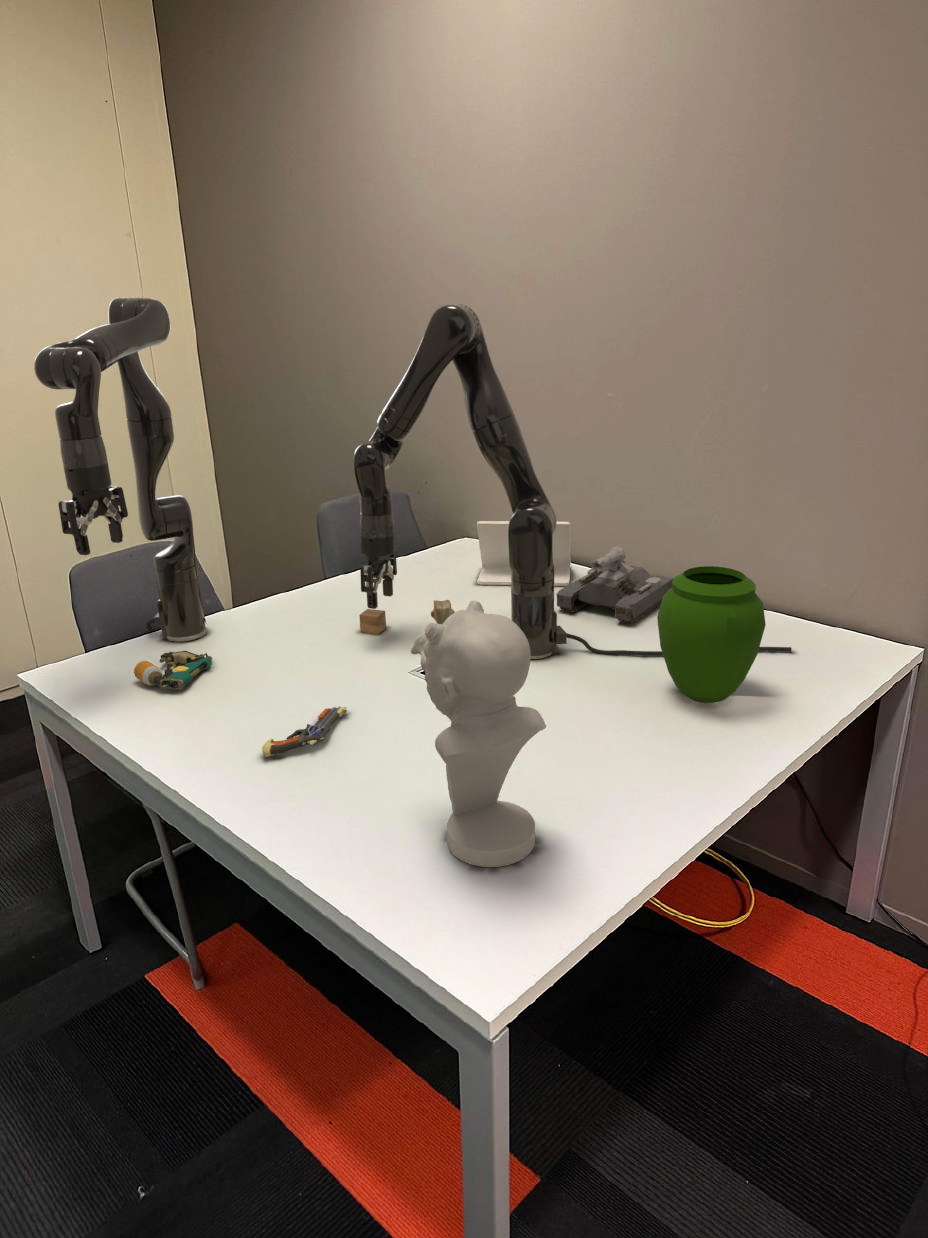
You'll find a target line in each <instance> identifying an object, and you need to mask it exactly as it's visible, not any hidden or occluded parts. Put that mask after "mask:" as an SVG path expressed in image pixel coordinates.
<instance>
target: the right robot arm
mask: <svg viewBox="0 0 928 1238" xmlns="http://www.w3.org/2000/svg"><path fill="white" fill-rule="evenodd" d="M451 362H452V363H453V365H454V367H455V370H456V372H457V374H458V377H459V379H460V383H461V386H462V392H463V397H464V405H465V412H466V416H467V420H468V423H469V427H470V430H471V431H472V434H473V436H474V439H475V442H476V444H477V447H478V448H479V451H480V453H481V455H482V456H483V458H484V459H485V461H486V463H487V464H488V465H489V467H490V468H491V470H492V471H493V472H494V474H495V475H496V477H497V478H498V479H499V481H500V483H501V484H502V486H503V488H504V491H505V493H506V496H507V499H508V503H509V506H510V507H511V512H512V515H511V517H510V518H509V520H508V521H509V527H508V548H509V565H510V569H511V585H510V588H511V589H510V597H511V599H510V603H511V604H510V606H511V607H510V609H511V610H510V615H511V617H510V619H511V620H512V621H513V622H514V623H515V624H516V625H517V626H518V627H519V628H520V629H521V630H522V632H523V633H524V634H525V636H526V638H527V640H528V643H529V646H530V652H531V653H530V655H531V656H530V660H540V659H545V658H548V657H550V656H552V655H557V654H558V653H557V650H558V649H557V648H558V647H557V645H566V644H568V643H567V642H568V641H567V640H568V639H571V640H574V641H577V642H579V643H581V644H582V645H583V646H584V647H585V648H586V649H587V650H588V652H589V651H590V652H592V653H594V654H597V655H605V656H606V655H607V656H615V655H617V656H618V655H621V656H622V655H623V656H648V657H649V656H651V657H652V656H654V657H655V656H657V657H658V656H660V657H661V656H663V653H662V650H653V651H652V650H626V649H625V650H624V649H623V650H622V649H621V650H620V649H619V650H618V649H616V650H614V649H613V650H606V649H605V650H603V649H598V648H595V647H593V646H591V645H590V644H589V642H588V641H587V640H586V639H584V638H583V637H580V636H578V635H576V634H571V633H567V632H566V631H565V629H564V628H563V627H562V626H561V625H558V613H557V612H556V611H555V586H554V564H553V533H554V531H555V528H556V522H558V521H557V515H556V512H555V510H554V507H553V506H552V503H551V502H550V500H549V498H548V497H547V495H546V492H545V490H544V488H543V486H542V485H541V483H540V481H539V478H538V477H537V474H536V471H535V469H534V465H533V463H532V460H531V456H530V454H529V450H528V447H527V444H526V441H525V438H524V436H523V433H522V430H521V427H520V425H519V422H518V419H517V417H516V415H515V413H514V412H515V411H514V409H513V407H512V405H511V403H510V400H509V398H508V396H507V394H506V391H505V389H504V386H503V384H502V382H501V380H500V378H499V376H498V373H497V372H496V370H495V368H494V364H493V361H492V359H491V356H490V353H489V350H488V344H487V341H486V339H485V335H484V330H483V327H482V323H481V320H480V318H479V316H478V315H477V313H476V312H475V310H473V308H471V307H470V306H468V305H467V304H464V303H448V304H444V305H442V306H440V307H438V308H437V309H436V310H435V311H433V313H432V314H431V316H430V317H429V321H428V323H427V326H426V327H425V331H424V334H423V336H422V338H421V341H420V343H419V346H418V348H417V349H416V352H415V354H414V357H413V358H412V360H411V363H410V365H409V366H408V368H407V370H406V372H405V374H404V376H403V377H402V379H401V381H400V382H399V383H398V385H397V387H396V388H395V390H394V392H393V393H392V395H391V396H390V398H389V400H388V401H387V403H386V404H385V406H384V407H383V409H382V411H381V412H380V414H379V416H378V418H377V421H376V425H377V427H376V429H375V430H374V432H373V434H372V435H371V437H370V438H369V440H368V441H365V442H363V443H362V444H360V445H358V446H357V448H356V449H355V451H354V453H353V457H352V467H353V473H354V477H355V483H356V486H357V490H358V493H359V512H360V513H359V514H360V516H359V539H360V552H361V554H362V555H363V556H365V557H366V558H367V562H366V565H365V564H364V565H363V564H361V565H360V571H359V572H360V592H361V593H366V606H367V609H374V610H377V609H378V608H379V607H378V606H379V605H378V603H379V602H378V587H379V585H380V584H381V583H382V595H383V596H384V597H392V596H394V582H393V581H394V579H395V576H397V575H398V564H397V551H396V534H395V533H396V532H395V531H396V530H395V519H394V512H393V510H394V509H393V493H392V489H391V487H390V486H389V485H388V484H387V480H386V471H387V470H388V469H389V468H390V467H392V465H393V464H394V462H395V461H396V459H397V457H398V456H399V454H400V451H401V450H402V447H403V445H404V442H405V440H406V438H407V437H408V435H409V434H410V432H411V431H412V429H413V428H414V427H415V426H416V423H417V422H418V420H419V418H420V417H421V415H422V414H423V411H424V409H425V407H426V405H427V403H428V402H429V399H430V396H431V394H432V391H433V389H434V387H435V385H436V384H437V382H438V380H439V378H440V377H441V376H442V374H443V372H444V370H445V369H446V368H447V366H449V364H450V363H451ZM792 651H793V650H792V647H791V646H760V647H759V650H758V652H792ZM663 657H664V656H663Z"/></svg>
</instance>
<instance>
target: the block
mask: <svg viewBox="0 0 928 1238" xmlns="http://www.w3.org/2000/svg"><path fill="white" fill-rule="evenodd" d="M358 616H359V628H360V629H359V630H360V633H365V634H374V635H380V634H381V633H382V632H384V630H386V629H387V618H386V617H387V616H386V610H382V609H371V608H366V609H364V610H363V611H362V612H361V613H360V614H358Z"/></svg>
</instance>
